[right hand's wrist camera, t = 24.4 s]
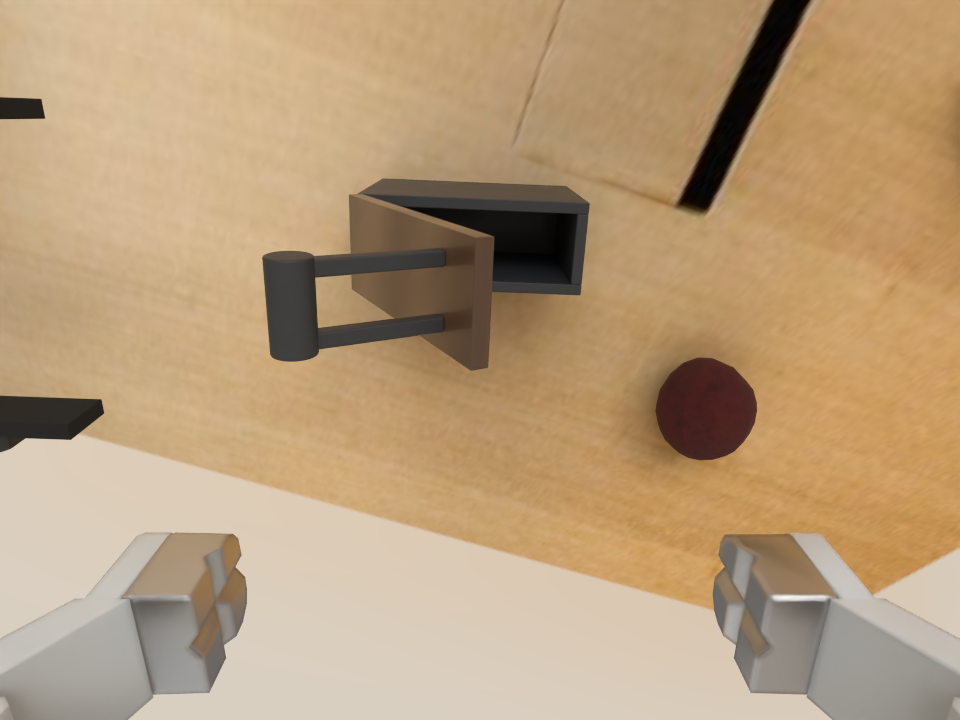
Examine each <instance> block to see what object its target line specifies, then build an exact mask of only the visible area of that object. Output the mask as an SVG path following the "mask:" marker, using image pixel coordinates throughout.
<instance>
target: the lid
mask: <svg viewBox="0 0 960 720" xmlns="http://www.w3.org/2000/svg"><path fill="white" fill-rule="evenodd" d="M349 210H350V241H351V254H340V255H325V256H313V255H312V254H310V253H307V252H300V251H279V252H272V253H268V254H265V255H264V256H263V258H262V259H263V271H264V283H265V295H266V308H267V320H268V332H269V344H270V355H271V356H272V357H273V358H274V359H277V360H280V361H291V362H292V361H303V360H307V359H311V358H313V357H315V356H316V355H317V354H318V353H319V349H324V348H332V347H339V346H346V345H353V344H360V343H367V342H375V341H382V340H389V339H396V338H403V337H410V336H418V335H420V336H421V337H423V338H424V339H426V340H427V341H428V342H430V343H431V344H433V345H434V346H436V347H437V348H439V349H440V350H442V351H443V352H444V353H446V354H447V355H449V356H450V357H452V358H453V359H455V360H456V361H458V362H459V363H460V364H462V365H463V366H465V367H466V368H468V369H469V370H477V369H483V368H488V357H489V337H490V316H491V296H492V276H493V255H494V236H491V235H488V234H485V233H482V232H478V231H475V230H472V229H469V228H466V227H463V226H460V225H457V224H454V223H450V222H447V221H444V220H441V219H438V218H435V217H432V216H429V215H426V214H422V213H419V212H416V211H413V210H410V209H407V208H404V207H401V206H398V205H394V204H391V203H388V202H385V201H382V200H379V199H376V198H373V197H370V196H367V195H363V194H350V195H349ZM351 274H352V289H353V290H354V291H356V292H357V293H359V294H360V295H361V296H363V297H364V298H366V299H367V300H369V301H370V302H372V303H373V304H375V305H376V306H377V307H379V308H380V309H382V310H383V311H385V312H386V313H388V314H389V315H391V316H392V317H393V318H395V319H389V320H380V321H372V322H364V323H356V324H348V325H340V326H332V327H324V328H318V323H317V304H316V285H315V277H327V276H339V275H351Z"/></svg>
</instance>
